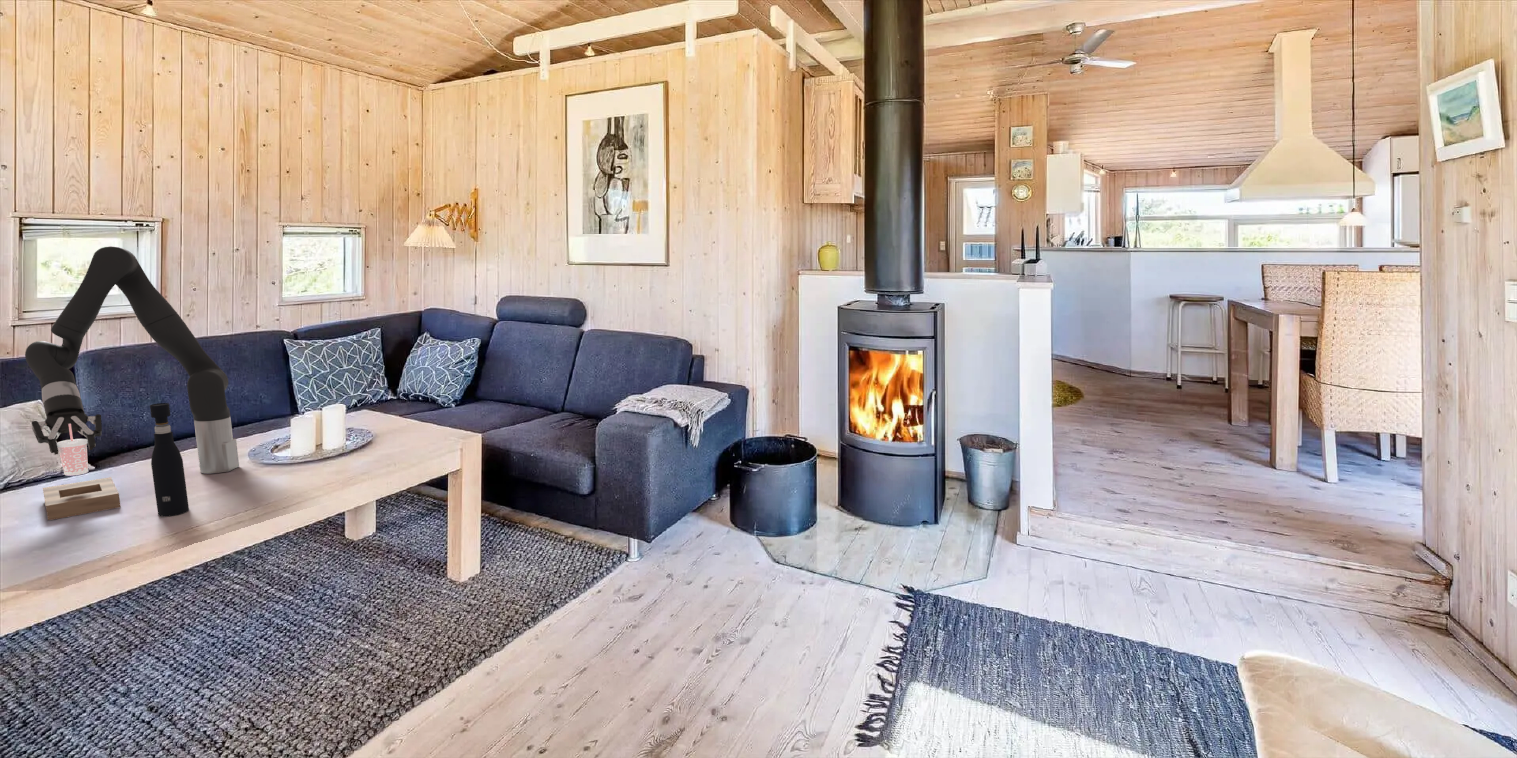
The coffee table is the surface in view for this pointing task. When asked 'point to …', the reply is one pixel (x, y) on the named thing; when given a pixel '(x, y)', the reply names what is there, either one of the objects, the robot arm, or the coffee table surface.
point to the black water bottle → (167, 466)
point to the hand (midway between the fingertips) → (74, 450)
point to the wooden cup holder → (80, 498)
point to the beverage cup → (73, 455)
